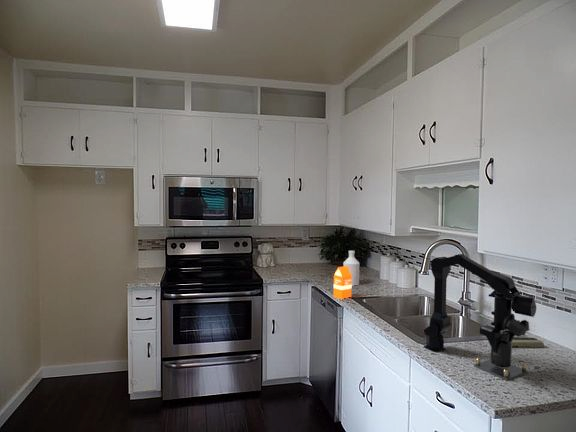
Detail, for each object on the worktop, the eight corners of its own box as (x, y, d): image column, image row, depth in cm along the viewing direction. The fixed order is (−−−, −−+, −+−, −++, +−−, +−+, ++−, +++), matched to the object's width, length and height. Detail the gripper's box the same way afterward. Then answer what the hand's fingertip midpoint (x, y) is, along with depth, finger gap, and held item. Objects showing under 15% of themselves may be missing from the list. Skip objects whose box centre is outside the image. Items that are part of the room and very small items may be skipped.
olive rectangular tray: (531, 341, 175) (532, 334, 175) (544, 348, 167) (544, 341, 167) (497, 342, 175) (498, 334, 175) (508, 349, 167) (508, 341, 167)
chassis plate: (474, 366, 148) (474, 357, 148) (495, 359, 154) (495, 351, 154) (506, 380, 137) (506, 371, 137) (528, 373, 143) (528, 364, 143)
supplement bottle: (515, 368, 142) (516, 336, 142) (497, 368, 142) (498, 336, 141) (503, 360, 149) (505, 329, 148) (486, 360, 149) (487, 329, 148)
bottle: (359, 286, 280) (359, 252, 279) (342, 285, 282) (343, 251, 281) (359, 282, 292) (359, 250, 291) (343, 282, 294) (343, 249, 293)
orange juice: (333, 296, 250) (333, 266, 249) (342, 294, 256) (343, 265, 255) (341, 299, 244) (342, 268, 243) (351, 297, 249) (352, 266, 248)
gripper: (508, 320, 133) (506, 364, 134) (539, 312, 142) (537, 354, 142) (479, 311, 143) (477, 352, 144) (510, 305, 151) (508, 343, 152)
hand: (501, 350), depth 145 cm, fingers closed on supplement bottle, 7 cm apart
